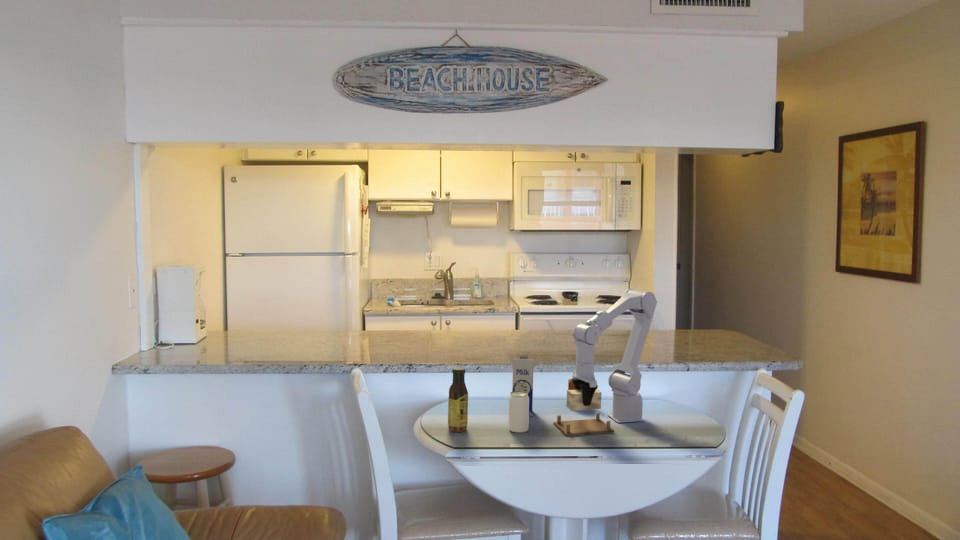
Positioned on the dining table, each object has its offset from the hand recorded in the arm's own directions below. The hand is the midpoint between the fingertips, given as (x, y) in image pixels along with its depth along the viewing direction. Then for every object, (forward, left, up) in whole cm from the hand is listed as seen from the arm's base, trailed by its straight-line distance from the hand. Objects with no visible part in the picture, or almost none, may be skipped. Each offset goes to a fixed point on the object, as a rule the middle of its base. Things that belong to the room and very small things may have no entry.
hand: (583, 402), depth 200 cm
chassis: (0, 0, -8) cm, 8 cm away
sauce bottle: (+40, -7, -9) cm, 41 cm away
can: (+21, -3, -9) cm, 23 cm away
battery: (-7, -22, -9) cm, 24 cm away
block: (0, 0, -2) cm, 2 cm away
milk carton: (+15, -18, -9) cm, 25 cm away
